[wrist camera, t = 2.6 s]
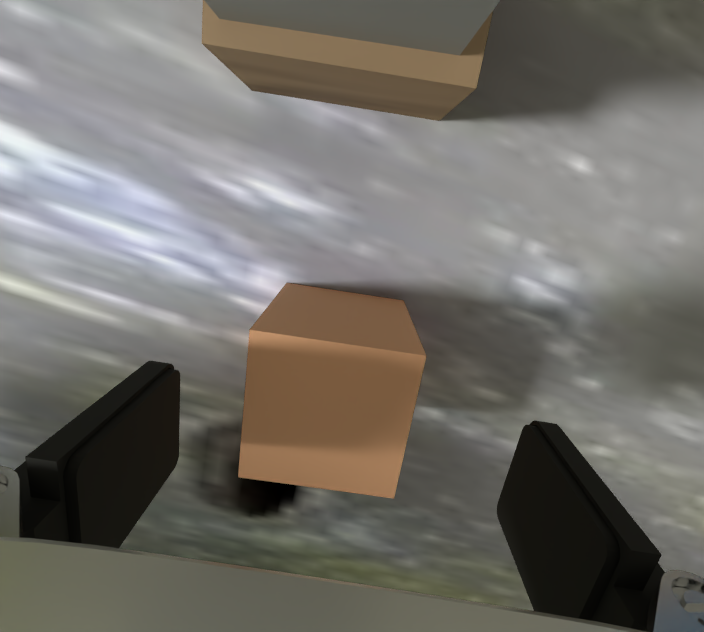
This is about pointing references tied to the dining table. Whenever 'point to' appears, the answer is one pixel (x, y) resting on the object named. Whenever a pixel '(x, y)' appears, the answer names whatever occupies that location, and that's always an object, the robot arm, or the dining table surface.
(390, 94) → the tower base
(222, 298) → the dining table surface
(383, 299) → the terracotta block
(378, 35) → the tower top
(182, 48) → the dining table surface
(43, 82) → the dining table surface
